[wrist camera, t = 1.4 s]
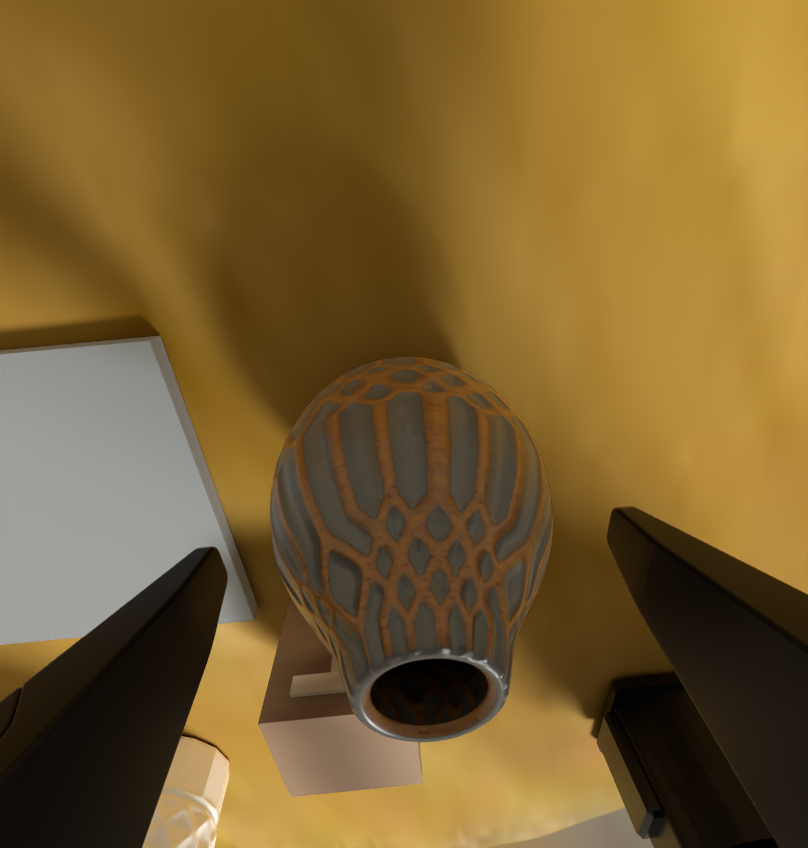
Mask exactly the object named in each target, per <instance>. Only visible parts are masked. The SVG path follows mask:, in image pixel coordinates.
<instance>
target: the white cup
mask: <svg viewBox="0 0 808 848" xmlns="http://www.w3.org/2000/svg"><path fill="white" fill-rule="evenodd" d="M228 780H229V761H228V760H227V759H226V757H225V756H224V755H223V754H222V753H221V752H220V751H219V750H218V749H217V748H215V747H213V746H211V745H209V744H206V743H204V742H202V741H199V740H197V739H194V738H190V737H184V736H181V738H180V741H179V744H178V747H177V750H176V752H175V755H174V758H173V761H172V764H171V767H170V770H169V772H168V775H167V778H166V781H165V784H164V787H163V790H162V792H161V795H160V798H159V801H158V804H157V807H156V810H155V812H154V815H153V818H152V821H151V824H150V827H149V830H148V832H147V835H146V838H145V841H144V844H143V847H142V848H214V845H215V840H216V834H217V829H216V825H217V824H218V820H219V816H220V812H221V808H222V804H223V800H224V796H225V792H226V788H227V784H228Z"/></svg>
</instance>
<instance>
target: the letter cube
mask: <svg viewBox="0 0 808 848" xmlns="http://www.w3.org/2000/svg"><path fill="white" fill-rule="evenodd" d="M258 725H259V727H260V729H261V731H262V734H263V736H264V738H265V740H266V743H267V745H268V747H269V749H270V752H271V754H272V756H273V758H274V761H275V763H276V765H277V767H278V770H279V772H280V774H281V776H282V779H283V781H284V783H285V785H286V788H287V790H288V792H289V794H290V797H296V796H306V795H316V794H326V793H335V792H345V791H355V790H365V789H375V788H384V787H394V786H404V785H414V784H423V782H422V768H421V755H420V742H408V741H401V740H396V739H392V738H388V737H385V736H383V735H380V734H378V733H376V732H374V731H372V730H371V729H369V728H367V727H366V726H365V725H364V724H362V723H361V722H360V721H359V720H358V718H357V717H356V716H355V714H354V713H353V711H352V708H351V706H350V704H349V701H348V698H347V695H346V691H345V688H344V685H343V682H342V679H341V676H340V673H339V670H338V667H337V665H336V663H335V661H334V658H333V656H332V655H331V653H330V652H329V651H328V649H327V648H326V646H325V645H324V644H323V643H322V641H321V640H320V639H319V637H318V636H317V635H316V633H315V632H314V631H313V629H312V628H311V626H310V625H309V624H308V622H307V621H306V620H305V618H304V617H303V615H302V614H301V613H300V611H299V610H298V608H297V606H296V605H295V603H294V602H293V600H292V598H291V597H290V600H289V604H288V608H287V611H286V615H285V619H284V623H283V627H282V631H281V635H280V639H279V643H278V647H277V651H276V655H275V659H274V663H273V667H272V671H271V675H270V679H269V683H268V687H267V691H266V695H265V699H264V703H263V707H262V711H261V715H260V719H259V723H258Z"/></svg>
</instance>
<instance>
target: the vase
mask: <svg viewBox="0 0 808 848" xmlns="http://www.w3.org/2000/svg"><path fill="white" fill-rule="evenodd" d="M270 523H271V536H272V543H273V549H274V555H275V559H276V562H277V566H278V569H279V573H280V575H281V578H282V580H283V582H284V585H285V587H286V589H287V591H288V593H289V595H290V597H291V598H292V600H293V602H294V603H295V605H296V606H297V608H298V610H299V611H300V613H301V614H302V615H303V617H304V618H305V620H306V621H307V622H308V624H309V625H310V626H311V628H312V629H313V631H314V632H315V633H316V635H317V636H318V637H319V639H320V640H321V641H322V643H323V644H324V645H325V646H326V648H327V649H328V651H329V652H330V653H331V655H332V656H333V658H334V661H335V663H336V665H337V667H338V670H339V673H340V676H341V679H342V682H343V685H344V688H345V691H346V695H347V698H348V701H349V704H350V706H351V708H352V711H353V713H354V714H355V716H356V717H357V718H358V720H359V721H360V722H361V723H362V724H364V725H365V726H366V727H367V728H369V729H371V730H372V731H374V732H376V733H378V734H380V735H383V736H385V737H388V738H392V739H396V740H401V741H408V742H434V741H441V740H447V739H451V738H455V737H458V736H462V735H464V734H467V733H469V732H472V731H474V730H476V729H478V728H479V727H481V726H483V725H484V724H486V723H487V722H488V721H490V720H491V719H492V718H493V717H494V716H495V715H496V714H497V713H498V712H499V711H500V710H501V708H502V707H503V705H504V703H505V701H506V699H507V696H508V692H509V687H510V680H511V670H512V660H513V652H514V647H515V642H516V638H517V635H518V633H519V631H520V628H521V626H522V624H523V622H524V620H525V618H526V616H527V614H528V612H529V609H530V607H531V605H532V603H533V601H534V598H535V596H536V594H537V592H538V589H539V587H540V584H541V582H542V579H543V577H544V574H545V571H546V568H547V564H548V560H549V556H550V552H551V546H552V533H553V514H552V502H551V495H550V488H549V483H548V479H547V475H546V471H545V467H544V464H543V461H542V458H541V456H540V453H539V450H538V448H537V446H536V444H535V442H534V439H533V438H532V436H531V434H530V433H529V431H528V429H527V428H526V426H525V425H524V423H523V422H522V420H521V419H520V417H519V416H518V415H517V413H516V412H515V411H514V410H513V409H512V407H511V406H510V405H509V404H508V403H507V402H506V401H505V399H503V398H502V397H501V396H500V395H499V394H498V393H497V392H496V391H495V390H494V389H493V388H492V387H491V386H489V385H488V384H487V383H485V382H484V381H483V380H481V379H480V378H478V377H477V376H475V375H473V374H471V373H469V372H468V371H465V370H463V369H461V368H459V367H456V366H454V365H452V364H449V363H446V362H442V361H439V360H435V359H429V358H422V357H394V358H387V359H382V360H377V361H374V362H370V363H367V364H364V365H362V366H359V367H357V368H355V369H353V370H351V371H349V372H347V373H345V374H343V375H342V376H340V377H339V378H337V379H336V380H334V381H333V382H332V383H330V384H329V385H328V386H326V387H325V388H324V389H323V390H322V391H320V392H319V393H318V394H317V395H316V396H315V397H314V398H313V400H312V401H311V402H310V403H309V404H308V405H307V407H306V408H305V410H304V411H303V412H302V414H301V415H300V416H299V418H298V419H297V421H296V423H295V424H294V426H293V428H292V430H291V431H290V433H289V435H288V437H287V439H286V441H285V443H284V446H283V448H282V451H281V454H280V456H279V459H278V462H277V465H276V468H275V472H274V478H273V483H272V489H271V502H270Z"/></svg>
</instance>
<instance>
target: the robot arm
mask: <svg viewBox="0 0 808 848" xmlns="http://www.w3.org/2000/svg"><path fill="white" fill-rule="evenodd" d="M607 541H608V545H609V548H610V550H611V552H612V554H613V556H614V558H615V561H616V563H617V565H618V567H619V569H620V571H621V573H622V576H623V578H624V580H625V582H626V584H627V586H628V589H629V591H630V593H631V595H632V597H633V599H634V601H635V603H636V605H637V607H638V609H639V611H640V613H641V615H642V616H643V618H644V620H645V622H646V623H647V625H648V627H649V628H650V630H651V632H652V633H653V635H654V637H655V638H656V640H657V642H658V643H659V645H660V647H661V649H662V650H663V652H664V654H665V655H666V657H667V659H668V660H669V662H670V664H671V665H672V667H673V669H674V670H675V672H676V674H677V675H669V676H659V677H649V678H639V679H629V680H620V681H617V682H615V683H614V684H612V686H611V689H610V693H609V697H608V701H607V704H606V708H605V712H604V716H603V720H602V723H601V727H600V731H599V735H598V739H597V745H598V747H599V750H600V752H602V753H603V755H604V757H605V760H606V762H607V764H608V767H609V769H610V771H611V774H612V776H613V779H614V781H615V783H616V786H617V788H618V790H619V793H620V795H621V798H622V800H623V802H624V805H625V807H626V809H627V812H628V814H629V816H630V819H631V821H632V824H633V826H634V828H635V831H636V833H637V834H638V835H639V836H640V837H641V838H643V839H648V838H650V840H651V842H652V844H653V846H654V848H808V594H806V593H804V592H802V591H800V590H798V589H796V588H794V587H792V586H790V585H788V584H786V583H784V582H782V581H780V580H778V579H776V578H774V577H772V576H770V575H768V574H766V573H764V572H762V571H760V570H758V569H756V568H754V567H752V566H750V565H748V564H746V563H744V562H742V561H740V560H738V559H737V558H735V557H733V556H731V555H729V554H727V553H725V552H723V551H721V550H719V549H717V548H715V547H713V546H711V545H709V544H707V543H705V542H703V541H701V540H699V539H697V538H695V537H693V536H691V535H689V534H687V533H685V532H683V531H681V530H679V529H677V528H675V527H673V526H671V525H669V524H667V523H665V522H663V521H661V520H659V519H657V518H655V517H653V516H651V515H649V514H647V513H645V512H643V511H641V510H639V509H637V508H635V507H632V506H627V507H617V508H614V509H613V511H612V513H611V517H610V522H609V527H608V533H607ZM227 582H228V574H227V570H226V568H225V565H224V562H223V560H222V557H221V555H220V552H219V550H218V549H217V548H216V547H214V546H211V547H200V548H197V549H195V550H193V551H192V552H191V553H190V554H188V555H187V556H186V557H184V558H183V559H182V560H181V561H179V562H178V563H177V564H176V565H174V566H173V567H172V568H170V569H169V570H168V571H167V572H165V573H164V574H163V575H162V576H160V577H159V578H158V579H156V580H155V581H154V582H153V583H151V584H150V585H149V586H148V587H146V588H145V589H144V590H142V591H141V592H140V593H139V594H137V595H136V596H135V597H134V598H132V599H131V600H130V601H128V602H127V603H126V604H125V605H123V606H122V607H121V608H120V609H118V610H117V611H116V612H114V613H113V614H112V615H111V616H109V617H108V618H107V619H105V620H104V621H103V622H102V623H100V624H99V625H98V626H97V627H95V628H94V629H93V630H91V631H90V632H89V633H88V634H86V635H85V636H84V637H83V638H81V639H80V640H79V641H77V642H76V643H75V644H74V645H72V646H71V647H70V648H69V649H67V650H66V651H65V652H63V653H62V654H61V655H60V656H58V657H57V658H56V659H55V660H53V661H52V662H51V663H49V664H48V665H47V666H46V667H44V668H43V669H42V670H40V671H39V672H38V673H37V674H35V675H34V676H33V677H32V678H30V679H29V680H28V681H26V682H25V683H24V685H23V687H19V688H17V689H16V690H15V691H14V692H12V693H11V694H10V695H9V696H7V697H6V698H5V699H3V700H2V701H1V702H0V848H142V847H143V844H144V841H145V838H146V835H147V832H148V830H149V827H150V824H151V821H152V818H153V815H154V812H155V810H156V807H157V804H158V801H159V798H160V795H161V792H162V790H163V787H164V784H165V781H166V778H167V775H168V772H169V770H170V767H171V764H172V761H173V758H174V755H175V752H176V750H177V747H178V744H179V741H180V738H181V735H182V732H183V730H184V727H185V724H186V721H187V718H188V715H189V712H190V710H191V707H192V704H193V701H194V698H195V695H196V693H197V690H198V687H199V684H200V681H201V678H202V675H203V673H204V670H205V667H206V664H207V661H208V658H209V655H210V652H211V648H212V645H213V641H214V637H215V633H216V629H217V624H218V620H219V616H220V612H221V608H222V604H223V599H224V595H225V591H226V587H227Z"/></svg>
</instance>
